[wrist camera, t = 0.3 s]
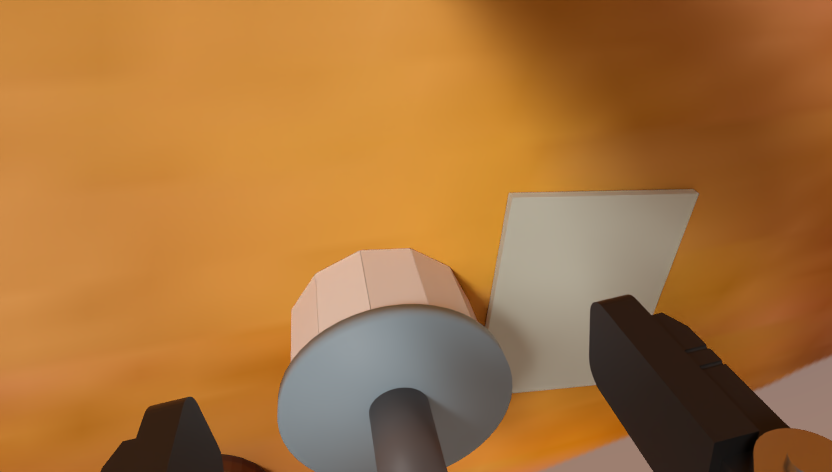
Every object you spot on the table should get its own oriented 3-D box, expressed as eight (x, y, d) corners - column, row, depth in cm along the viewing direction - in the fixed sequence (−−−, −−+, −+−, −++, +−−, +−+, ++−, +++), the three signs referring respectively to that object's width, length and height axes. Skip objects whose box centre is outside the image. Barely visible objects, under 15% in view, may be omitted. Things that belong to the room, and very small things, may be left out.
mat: (508, 192, 31) (512, 197, 30) (692, 188, 33) (699, 193, 33) (473, 390, 39) (476, 396, 39) (623, 376, 41) (627, 381, 41)
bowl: (288, 253, 30) (286, 323, 25) (475, 245, 32) (508, 308, 27) (296, 391, 36) (296, 471, 31) (455, 377, 38) (480, 449, 33)
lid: (270, 312, 25) (263, 416, 20) (524, 296, 27) (576, 386, 22) (284, 480, 31) (282, 591, 26) (489, 455, 33) (523, 552, 28)
